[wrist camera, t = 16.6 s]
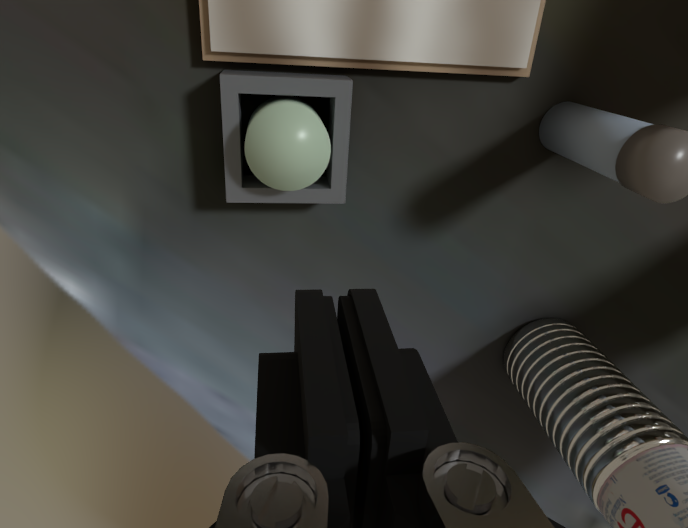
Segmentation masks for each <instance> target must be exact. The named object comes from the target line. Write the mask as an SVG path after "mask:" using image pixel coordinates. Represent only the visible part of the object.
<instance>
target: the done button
mask: <svg viewBox="0 0 688 528" xmlns="http://www.w3.org/2000/svg"><path fill="white" fill-rule="evenodd" d="M244 149H245V156H246V160H247V163H248V166H249V167H250V169H251V171H252V172H253V174H254V175H255V176H256V177H257V178H258V179H259V180H260V181H261V182H262V183H264V184H265V185H267V186H269V187H271V188H274V189H277V190H282V191H295V190H300V189H303V188H305V187H308V186H310V185H311V184H313V183H314V182H315V181H317V180H318V179H319V178H320V177H321V175H322V174H323V173H324V171H325V169H326V167H327V165H328V163H329V159H330V153H331V144H330V139H329V135H328V133H327V130H326V128H325V126H324V124H323V123H322V121H321V119H320V117H319V115H318V114H317V112H316V111H315V110H314V108H313V107H311V106H310V105H309V104H308V103H307V102H305V101H303V100H301V99H299V98H297V97H293V96H276V97H273V98H270V99H268V100H266V101H264V102H263V103H261V104H260V105H259V106H258V107H257V108H256V109H255V110H254V112H253V114H252V115H251V117H250V119H249V123H248V127H247V132H246V138H245V148H244Z"/></svg>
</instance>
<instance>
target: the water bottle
mask: <svg viewBox="0 0 688 528" xmlns="http://www.w3.org/2000/svg"><path fill="white" fill-rule="evenodd" d="M503 364H504V368H505V371H506V373H507V375H508V377H509V379H510V380H511V382H512V384H513V385H514V387H515V388H516V390H517V391H518V393H519V394H520V395H521V397H522V399H523V400H524V402H525V403H526V405H527V406H528V408H529V409H530V410H531V412H532V414H533V415H534V417H535V418H536V419H537V421H538V422H539V424H540V426H541V427H542V428H543V429H544V431H545V433H546V435H547V436H548V437H549V439H550V440H551V442H552V443H553V445H554V446H555V448H556V449H557V450H558V452H559V454H560V455H561V457H562V458H563V459H564V461H565V463H566V464H567V466H568V467H569V469H570V470H571V471H572V473H573V475H574V476H575V478H576V479H577V481H578V482H579V483H580V485H581V486H582V488H583V490H584V491H585V493H586V494H587V495H588V496H589V498H590V500H591V502H592V503H593V505H594V506H595V507H596V508H597V509H598V510H599V511H600V512H601V513H602V514H603V516H604V517H605V519H606V520H607V522H608V523H609V524H610V526H611V527H612V528H688V438H687V437H686V436H685V435H684V434H683V432H682V431H681V430H680V429H679V428H678V427H676V426H675V425H674V424H673V423H672V422H671V420H670V419H669V418H668V417H666V416H665V415H664V414H663V413H662V412H661V411H660V409H659V408H658V407H656V406H655V405H654V404H653V403H652V402H651V401H650V399H649V398H647V397H646V396H645V395H644V394H643V393H642V392H641V391H640V390H639V389H638V388H637V387H636V386H635V385H634V384H633V383H632V382H631V381H630V380H629V379H628V378H627V377H626V376H625V375H624V374H623V373H622V372H621V371H620V370H619V369H618V368H617V367H616V366H615V365H614V364H613V363H612V362H611V361H610V360H609V359H608V358H607V357H606V356H605V355H604V354H603V353H602V352H601V351H600V350H599V349H598V348H597V347H596V346H595V345H594V344H593V343H592V342H591V341H590V340H589V339H588V338H587V337H586V336H585V335H584V334H583V333H582V332H581V331H579V330H578V329H577V328H576V327H575V326H573V325H572V324H570V323H569V322H567V321H564V320H561V319H557V318H545V319H540V320H536V321H534V322H531V323H529V324H527V325H526V326H524V327H522V328H521V329H520V330H518V331H517V332H516V333H515V334H514V335H513V336H512V338H511V339H510V340H509V342H508V344H507V346H506V348H505V351H504V355H503Z"/></svg>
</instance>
